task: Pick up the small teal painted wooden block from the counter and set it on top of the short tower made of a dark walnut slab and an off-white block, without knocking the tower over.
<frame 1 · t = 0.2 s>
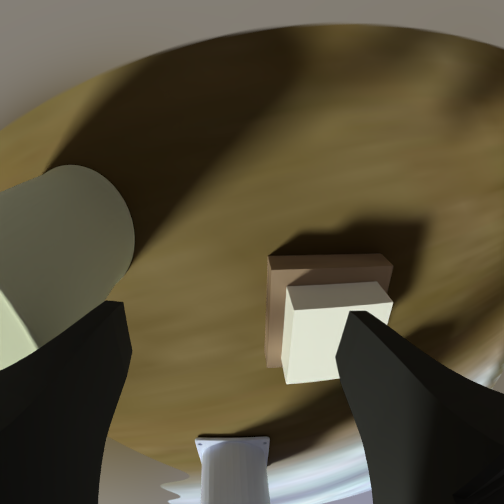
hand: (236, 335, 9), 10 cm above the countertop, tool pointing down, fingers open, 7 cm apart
white block: (327, 322, 19), point 2 cm above the countertop, touching walnut slab
walnut slab: (319, 301, 22), on the countertop, touching white block
can: (75, 231, 18), on the countertop
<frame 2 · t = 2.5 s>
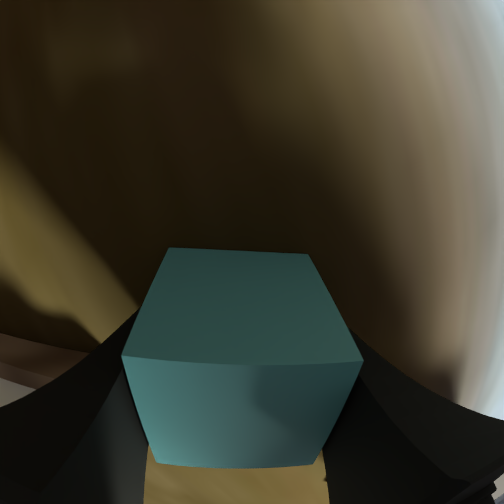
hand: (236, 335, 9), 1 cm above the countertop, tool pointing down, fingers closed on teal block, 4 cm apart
teal block: (235, 309, 10), on the countertop, touching gripper
white block: (57, 425, 11), point 2 cm above the countertop, touching walnut slab
walnut slab: (69, 390, 13), on the countertop, touching white block
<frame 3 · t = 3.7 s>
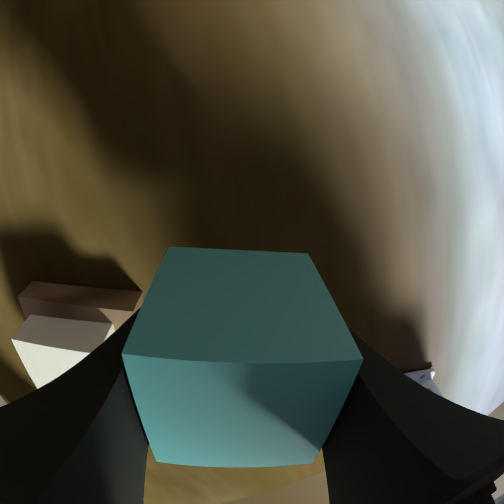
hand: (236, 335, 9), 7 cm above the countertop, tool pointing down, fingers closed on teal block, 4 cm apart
teal block: (235, 308, 10), point 5 cm above the countertop, touching gripper
white block: (82, 357, 16), point 2 cm above the countertop, touching walnut slab
walnut slab: (96, 333, 18), on the countertop, touching white block
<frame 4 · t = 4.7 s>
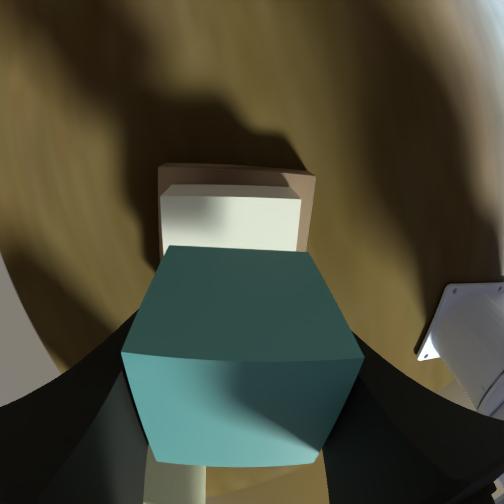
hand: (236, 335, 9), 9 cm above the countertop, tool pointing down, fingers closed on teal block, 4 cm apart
teal block: (235, 307, 10), point 8 cm above the countertop, touching gripper
white block: (229, 240, 16), point 2 cm above the countertop, touching walnut slab
walnut slab: (232, 229, 18), on the countertop, touching white block
can: (161, 404, 24), on the countertop
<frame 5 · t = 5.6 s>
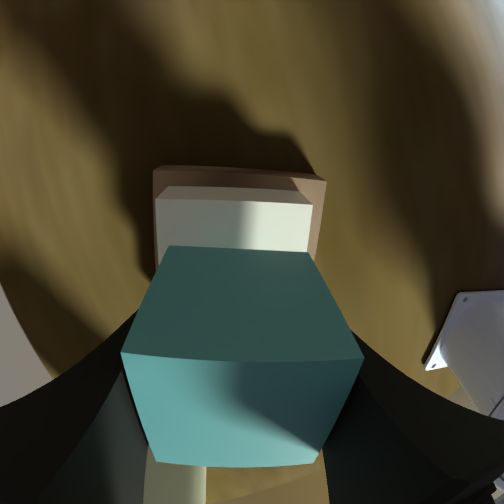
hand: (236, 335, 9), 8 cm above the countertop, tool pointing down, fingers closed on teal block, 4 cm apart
teal block: (235, 307, 10), point 7 cm above the countertop, touching gripper
white block: (231, 248, 15), point 2 cm above the countertop, touching walnut slab
walnut slab: (234, 237, 17), on the countertop, touching white block
can: (159, 415, 23), on the countertop
when the fingers open (7 cm above the countertop, at t = 7.0 s): teal block drops 1 cm, resting on white block.
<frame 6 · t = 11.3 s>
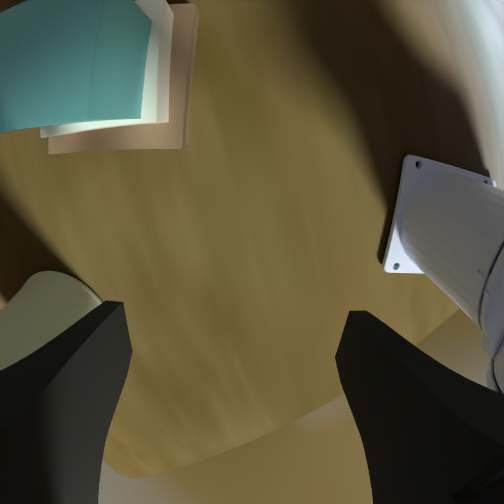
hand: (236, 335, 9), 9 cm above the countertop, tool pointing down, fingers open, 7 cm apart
teal block: (97, 72, 10), point 4 cm above the countertop, touching white block
white block: (114, 72, 12), point 2 cm above the countertop, touching teal block, walnut slab
walnut slab: (127, 81, 14), on the countertop, touching white block
can: (67, 320, 20), on the countertop
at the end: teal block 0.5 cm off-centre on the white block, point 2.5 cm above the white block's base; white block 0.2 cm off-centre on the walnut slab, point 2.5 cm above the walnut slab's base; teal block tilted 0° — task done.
